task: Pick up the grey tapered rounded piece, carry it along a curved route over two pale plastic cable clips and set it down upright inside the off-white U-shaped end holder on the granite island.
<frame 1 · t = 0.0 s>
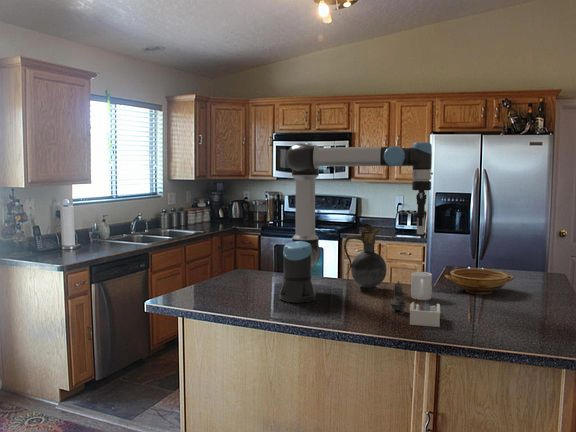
hand: (420, 232, 215), 28 cm above the countertop, fingers open, 13 cm apart
mug: (421, 299, 218), on the countertop
clip 1: (414, 311, 198), on the countertop
ceramic bowl: (478, 291, 231), on the countertop
grey tapered rounded piece: (398, 312, 198), on the countertop
clip 2: (435, 314, 195), on the countertop
pitcher: (364, 290, 235), on the countertop
end holder: (424, 320, 186), on the countertop
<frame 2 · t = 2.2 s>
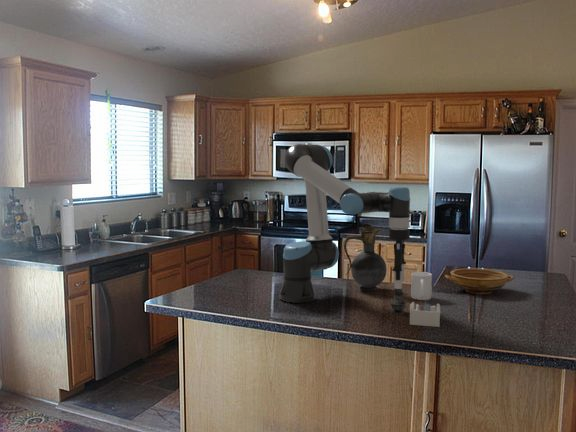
hand: (399, 284, 196), 11 cm above the countertop, fingers open, 13 cm apart
nothing on the countertop moved.
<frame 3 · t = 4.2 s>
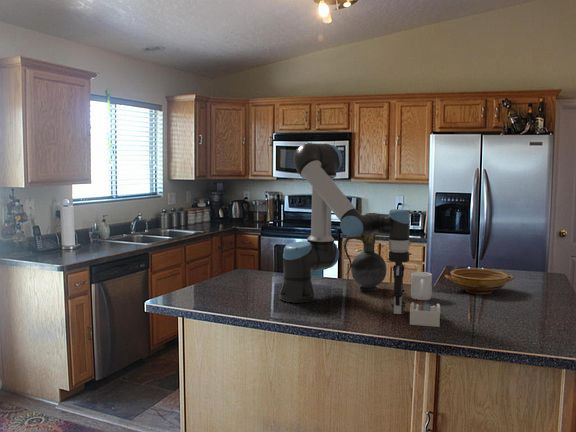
hand: (398, 311, 198), 0 cm above the countertop, fingers closed on grey tapered rounded piece, 6 cm apart
grey tapered rounded piece: (398, 312, 198), on the countertop, touching gripper
everything else where it was.
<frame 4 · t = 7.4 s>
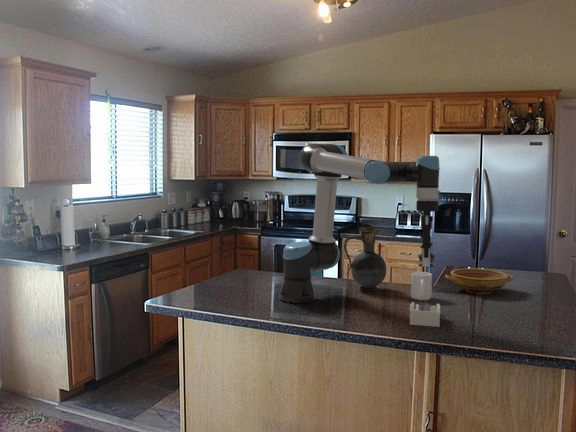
hand: (426, 264, 185), 20 cm above the countertop, fingers closed on grey tapered rounded piece, 6 cm apart
grey tapered rounded piece: (426, 266, 185), point 20 cm above the countertop, touching gripper
everything else where it was.
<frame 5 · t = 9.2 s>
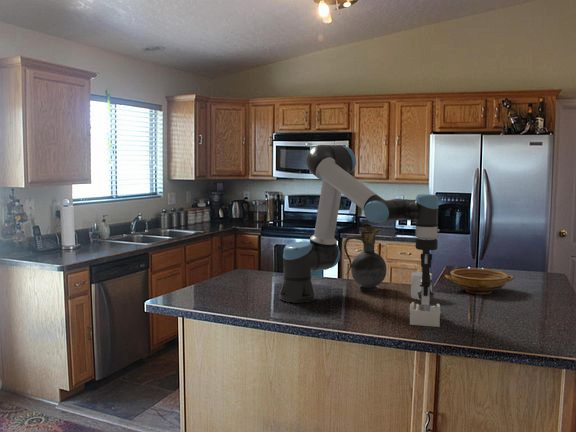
hand: (425, 302, 187), 7 cm above the countertop, fingers closed on grey tapered rounded piece, 6 cm apart
grey tapered rounded piece: (425, 303, 187), point 6 cm above the countertop, touching gripper
everything else where it was.
when the fingers open (3 cm above the countertop, at t = 10.7 s): grey tapered rounded piece drops 2 cm, resting on end holder.
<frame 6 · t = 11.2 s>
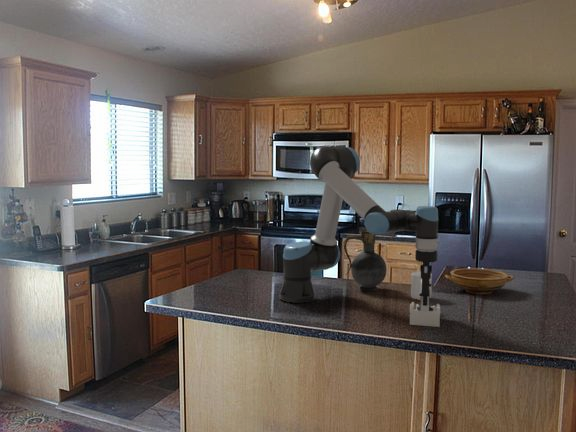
hand: (425, 309, 188), 4 cm above the countertop, fingers open, 12 cm apart
grey tapered rounded piece: (424, 318, 187), resting on end holder
everything else where it was.
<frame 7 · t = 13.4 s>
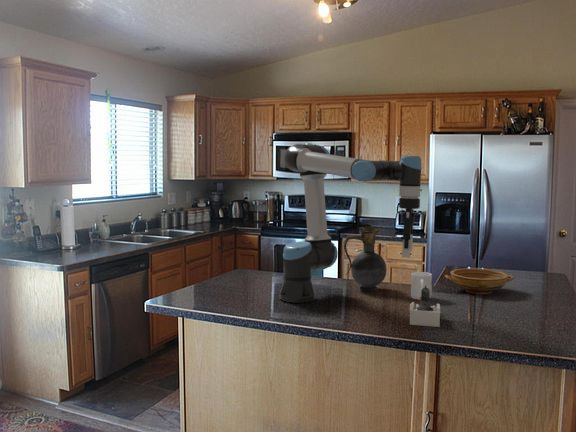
hand: (407, 254, 196), 22 cm above the countertop, fingers open, 13 cm apart
nothing on the countertop moved.
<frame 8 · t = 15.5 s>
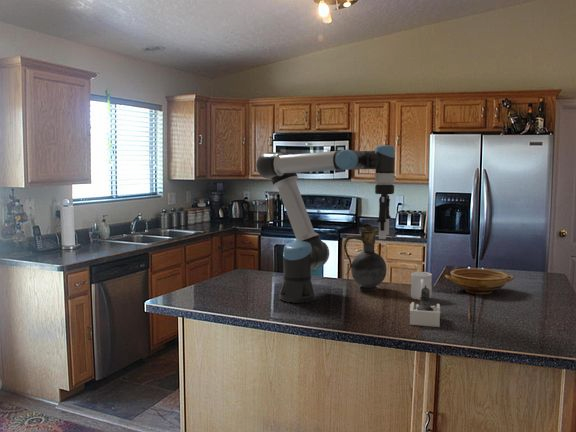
hand: (384, 236, 211), 27 cm above the countertop, fingers open, 13 cm apart
nothing on the countertop moved.
at the end: grey tapered rounded piece inside the target area on the end holder (0.5 cm from its centre), point 0.4 cm above the end holder's base; grey tapered rounded piece tilted 0°; the gripper is holding nothing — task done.
